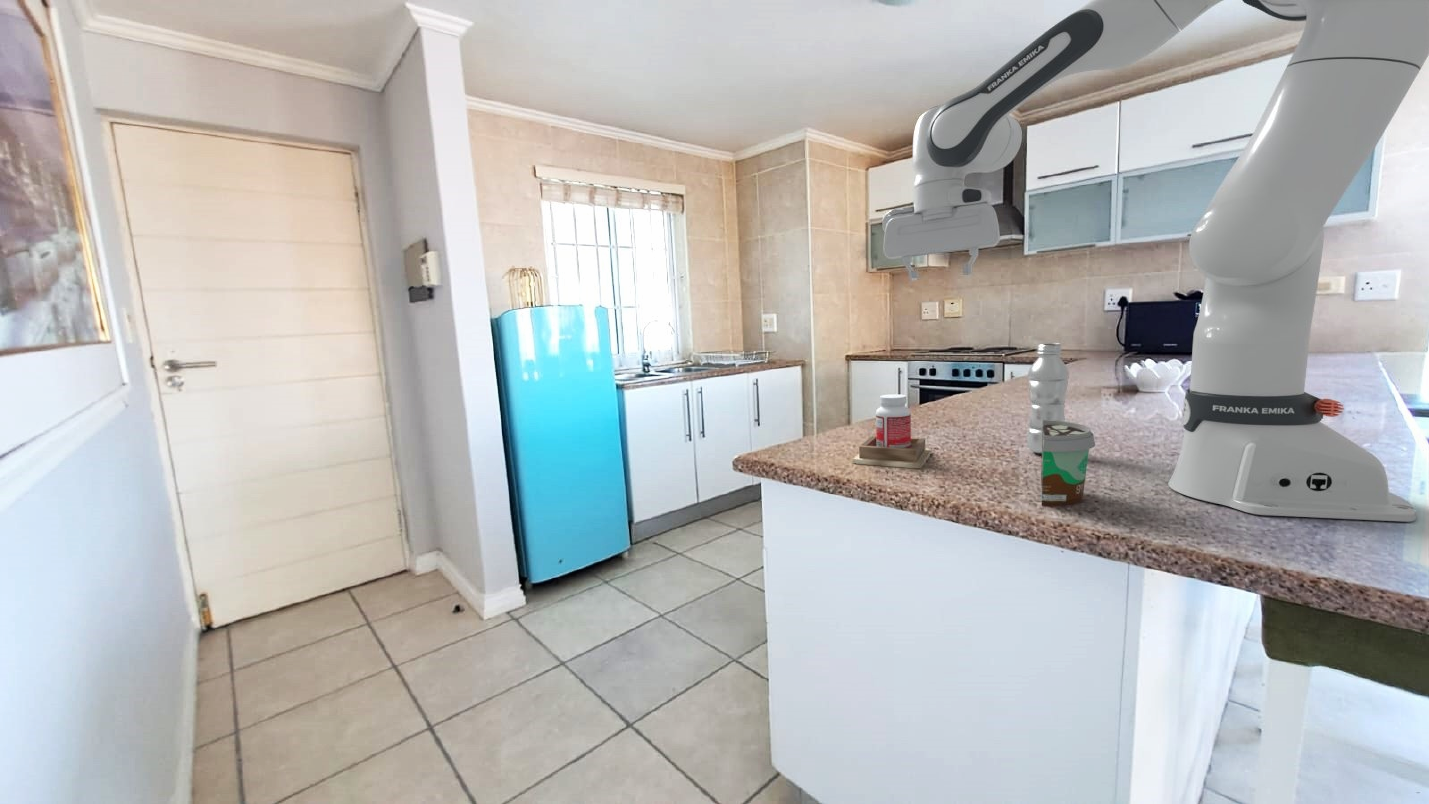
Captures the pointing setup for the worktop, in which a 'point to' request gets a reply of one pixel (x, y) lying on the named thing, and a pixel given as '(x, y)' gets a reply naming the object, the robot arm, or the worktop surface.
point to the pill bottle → (893, 422)
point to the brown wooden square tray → (893, 454)
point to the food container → (1064, 462)
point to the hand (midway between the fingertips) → (940, 277)
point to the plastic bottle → (1046, 392)
